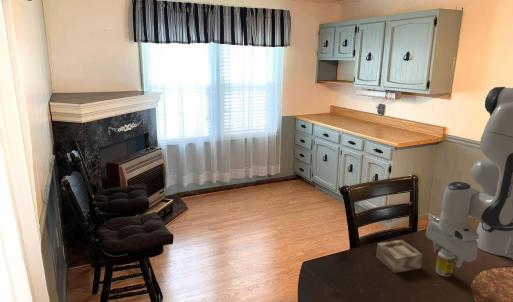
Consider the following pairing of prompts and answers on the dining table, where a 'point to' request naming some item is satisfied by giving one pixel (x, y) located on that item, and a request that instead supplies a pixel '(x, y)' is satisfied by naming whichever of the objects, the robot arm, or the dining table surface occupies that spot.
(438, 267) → the supplement bottle
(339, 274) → the dining table surface
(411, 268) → the grey beige stone block
